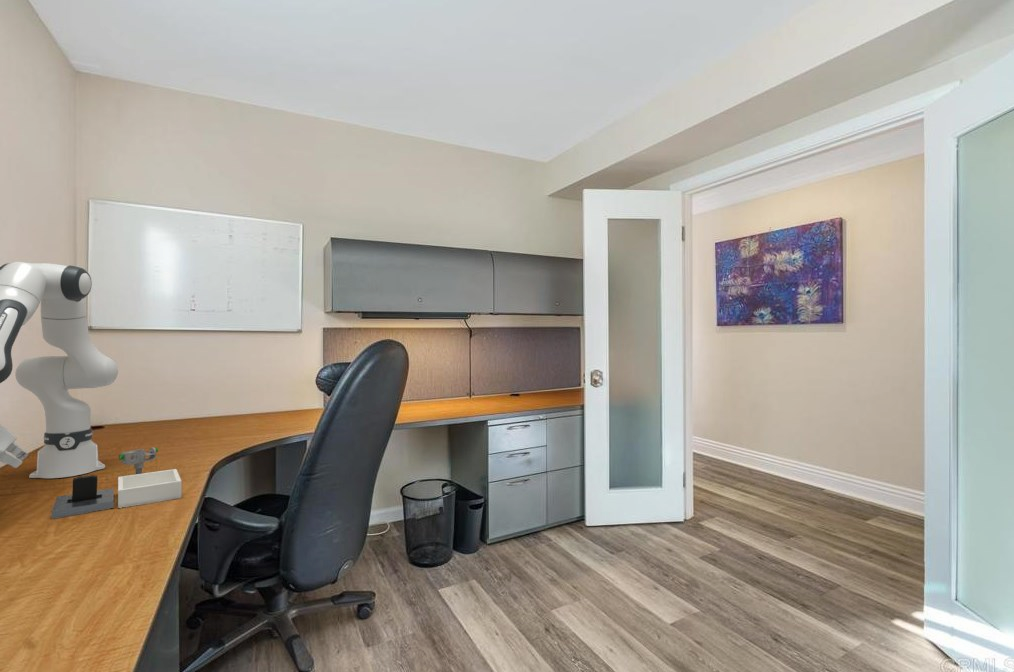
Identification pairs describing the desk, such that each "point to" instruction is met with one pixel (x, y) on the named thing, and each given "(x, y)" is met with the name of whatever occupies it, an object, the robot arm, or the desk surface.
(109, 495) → the plate
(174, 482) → the tray
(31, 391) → the robot arm
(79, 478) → the ink cartridge
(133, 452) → the mechanical component
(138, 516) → the desk surface
